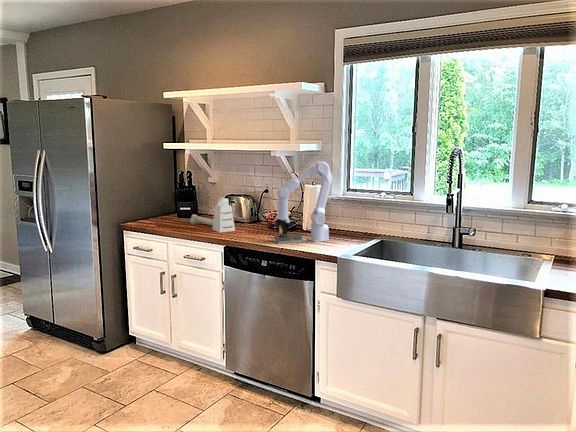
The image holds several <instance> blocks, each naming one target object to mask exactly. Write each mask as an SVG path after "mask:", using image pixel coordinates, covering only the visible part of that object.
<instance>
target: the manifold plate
mask: <svg viewBox="0 0 576 432" xmlns="http://www.w3.org/2000/svg"><path fill="white" fill-rule="evenodd" d="M308 239H309V238H308ZM308 239H307V238H305V237H303V235H302V234H299V233H296V234H291V236H290V235H288V234H287V237H282V238H280V234H275V235H274V238H271V242H272V243H273V242H274V243H275V244H277V245H281V244H292V243H302V242H308Z"/></svg>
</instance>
